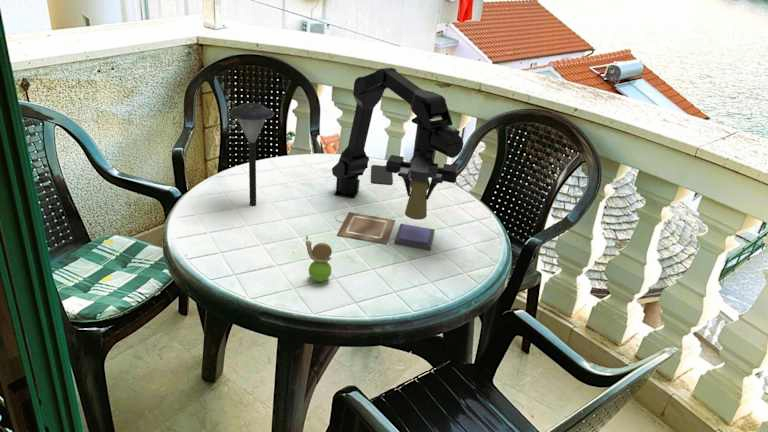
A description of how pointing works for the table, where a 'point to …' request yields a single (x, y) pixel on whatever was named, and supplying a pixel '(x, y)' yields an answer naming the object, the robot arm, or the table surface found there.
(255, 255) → the table surface
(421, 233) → the ink pad
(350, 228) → the marked board
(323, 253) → the snail figurine
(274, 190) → the table surface
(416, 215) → the cork
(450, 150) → the robot arm
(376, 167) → the phone
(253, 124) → the solar garden light
